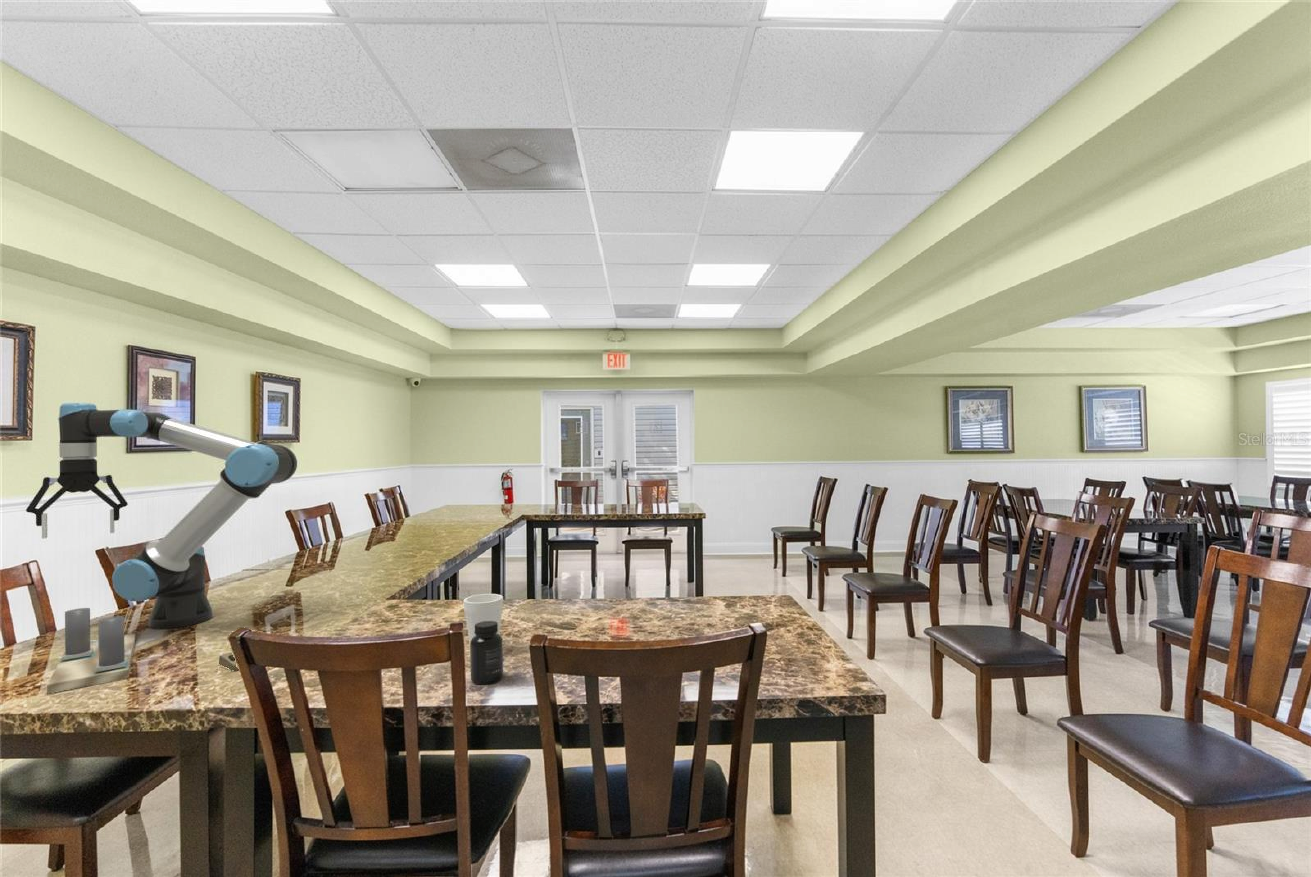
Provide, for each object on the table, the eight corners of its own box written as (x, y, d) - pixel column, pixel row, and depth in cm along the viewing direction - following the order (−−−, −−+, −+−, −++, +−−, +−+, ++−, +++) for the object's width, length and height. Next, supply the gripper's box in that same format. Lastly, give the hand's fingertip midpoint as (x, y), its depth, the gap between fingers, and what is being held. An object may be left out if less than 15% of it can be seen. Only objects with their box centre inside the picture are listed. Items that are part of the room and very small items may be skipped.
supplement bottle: (506, 672, 134) (505, 619, 134) (498, 685, 127) (497, 628, 128) (476, 673, 134) (475, 619, 134) (466, 685, 127) (465, 629, 128)
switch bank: (135, 640, 164) (135, 633, 164) (128, 678, 136) (128, 669, 136) (69, 651, 156) (69, 643, 156) (47, 694, 128) (47, 684, 128)
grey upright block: (93, 650, 149) (92, 606, 149) (91, 655, 145) (90, 610, 145) (65, 654, 146) (64, 610, 146) (62, 660, 142) (61, 614, 142)
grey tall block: (127, 660, 141) (126, 614, 141) (125, 666, 137) (125, 618, 137) (97, 666, 138) (97, 618, 138) (95, 672, 134) (95, 623, 134)
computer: (233, 674, 139) (233, 659, 139) (218, 667, 143) (218, 653, 143) (304, 653, 152) (304, 640, 152) (288, 648, 156) (288, 635, 156)
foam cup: (498, 657, 144) (497, 603, 145) (459, 658, 144) (458, 603, 145) (507, 644, 154) (506, 593, 154) (471, 645, 154) (470, 594, 154)
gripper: (138, 457, 178) (139, 529, 178) (16, 460, 162) (17, 538, 162) (137, 457, 172) (138, 531, 172) (10, 460, 156) (11, 541, 156)
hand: (79, 535), depth 167 cm, fingers open, 13 cm apart
